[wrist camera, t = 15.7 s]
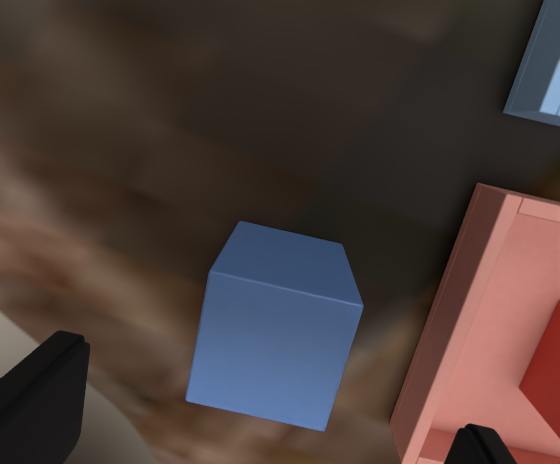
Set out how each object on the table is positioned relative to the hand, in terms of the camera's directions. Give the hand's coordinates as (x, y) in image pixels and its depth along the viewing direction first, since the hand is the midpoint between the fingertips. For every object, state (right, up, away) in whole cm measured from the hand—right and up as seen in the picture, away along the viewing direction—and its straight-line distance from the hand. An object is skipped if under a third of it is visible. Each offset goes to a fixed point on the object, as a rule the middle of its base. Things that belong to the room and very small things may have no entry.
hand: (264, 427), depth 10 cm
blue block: (0, +3, +8) cm, 8 cm away
